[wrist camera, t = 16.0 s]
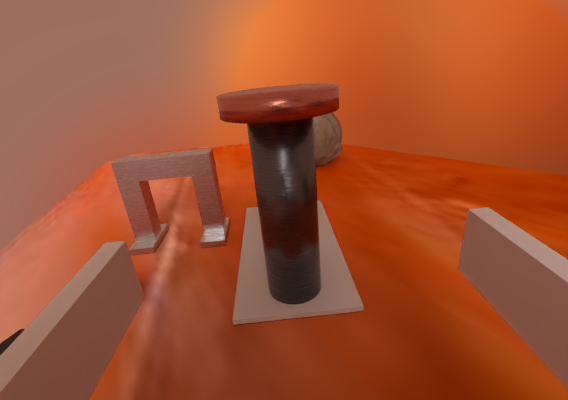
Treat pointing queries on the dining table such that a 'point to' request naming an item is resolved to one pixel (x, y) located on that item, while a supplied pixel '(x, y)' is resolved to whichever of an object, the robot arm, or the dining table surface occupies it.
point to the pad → (254, 283)
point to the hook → (285, 179)
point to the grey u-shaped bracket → (142, 168)
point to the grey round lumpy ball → (327, 138)
